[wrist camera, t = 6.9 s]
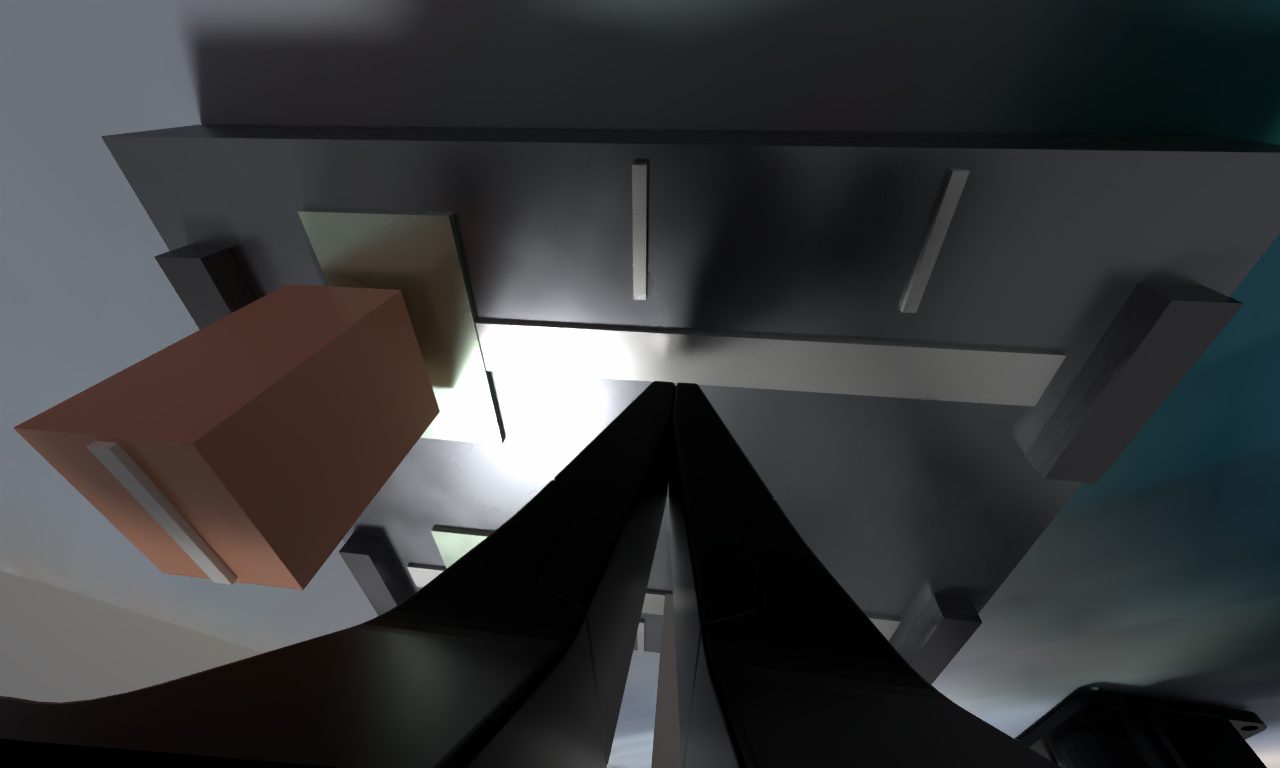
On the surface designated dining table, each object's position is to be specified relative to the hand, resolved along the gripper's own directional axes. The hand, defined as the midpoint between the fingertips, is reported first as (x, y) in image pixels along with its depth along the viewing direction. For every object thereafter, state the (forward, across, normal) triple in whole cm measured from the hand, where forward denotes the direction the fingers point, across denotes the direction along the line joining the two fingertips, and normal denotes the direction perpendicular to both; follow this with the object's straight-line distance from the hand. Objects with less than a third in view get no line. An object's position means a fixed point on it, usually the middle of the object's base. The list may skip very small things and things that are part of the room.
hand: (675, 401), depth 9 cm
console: (+3, +1, +4) cm, 5 cm away
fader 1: (+1, +7, 0) cm, 7 cm away
